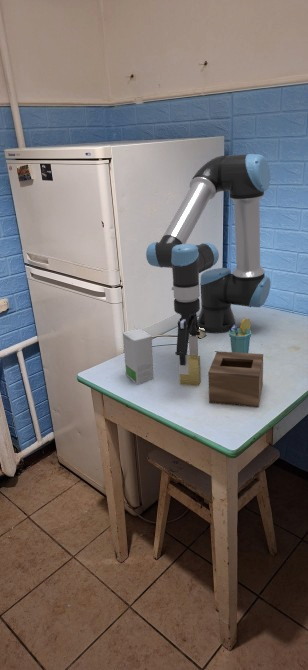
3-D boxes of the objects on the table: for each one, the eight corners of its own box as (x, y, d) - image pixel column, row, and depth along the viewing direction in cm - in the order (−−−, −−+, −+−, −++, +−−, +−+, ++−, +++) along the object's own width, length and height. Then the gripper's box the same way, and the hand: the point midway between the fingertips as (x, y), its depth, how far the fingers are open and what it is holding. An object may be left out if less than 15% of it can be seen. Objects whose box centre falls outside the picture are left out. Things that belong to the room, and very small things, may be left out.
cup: (242, 372, 152) (242, 329, 146) (220, 368, 155) (219, 326, 150) (256, 355, 163) (257, 314, 157) (235, 351, 166) (235, 312, 161)
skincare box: (125, 375, 156) (121, 332, 150) (143, 369, 159) (139, 327, 153) (137, 385, 149) (133, 340, 143) (155, 379, 152) (152, 334, 146)
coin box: (217, 380, 148) (216, 351, 144) (262, 383, 144) (263, 354, 140) (209, 402, 136) (208, 372, 132) (258, 407, 132) (259, 375, 128)
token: (182, 379, 150) (181, 354, 147) (200, 381, 148) (199, 355, 145) (180, 384, 147) (178, 358, 144) (198, 385, 146) (197, 359, 142)
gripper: (183, 286, 149) (186, 347, 157) (162, 312, 127) (166, 381, 135) (207, 286, 147) (208, 348, 155) (189, 313, 125) (192, 383, 133)
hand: (189, 364), depth 145 cm, fingers open, 13 cm apart
